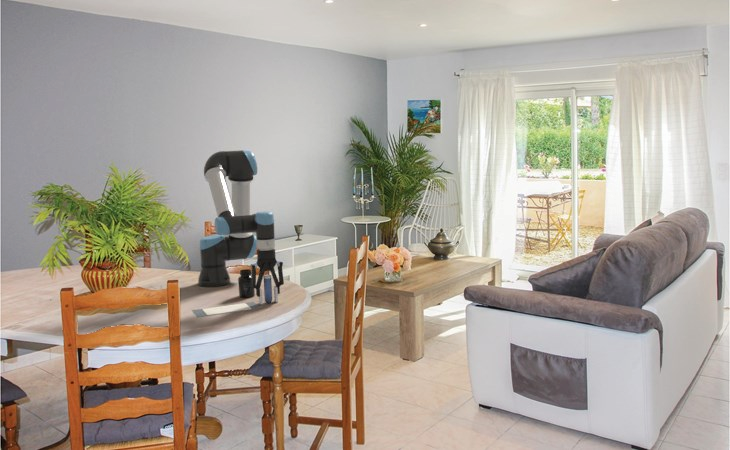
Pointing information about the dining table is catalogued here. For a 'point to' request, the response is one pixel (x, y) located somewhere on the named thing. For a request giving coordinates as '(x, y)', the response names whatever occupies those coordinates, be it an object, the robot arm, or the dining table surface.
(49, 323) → the dining table surface
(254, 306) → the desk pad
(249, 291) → the supplement bottle
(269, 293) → the marker
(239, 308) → the paper
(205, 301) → the dining table surface
